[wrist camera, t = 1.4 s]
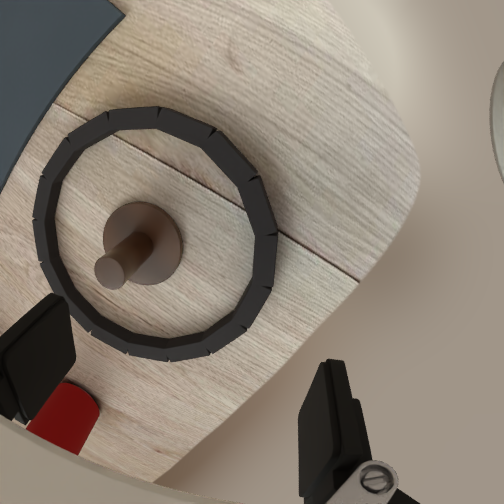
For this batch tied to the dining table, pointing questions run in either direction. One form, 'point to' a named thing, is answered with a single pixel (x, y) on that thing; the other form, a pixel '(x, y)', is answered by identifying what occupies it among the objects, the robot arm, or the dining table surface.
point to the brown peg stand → (139, 246)
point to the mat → (42, 61)
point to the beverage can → (66, 418)
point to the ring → (235, 170)
